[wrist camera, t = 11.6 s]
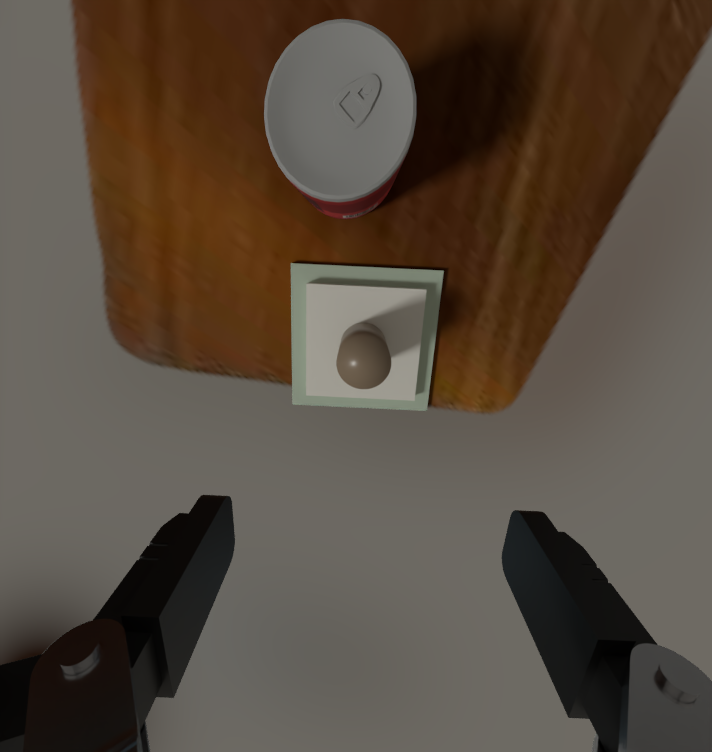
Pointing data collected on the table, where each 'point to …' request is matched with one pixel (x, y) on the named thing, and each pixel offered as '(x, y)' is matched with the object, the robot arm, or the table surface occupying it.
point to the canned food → (341, 116)
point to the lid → (363, 340)
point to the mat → (370, 278)
